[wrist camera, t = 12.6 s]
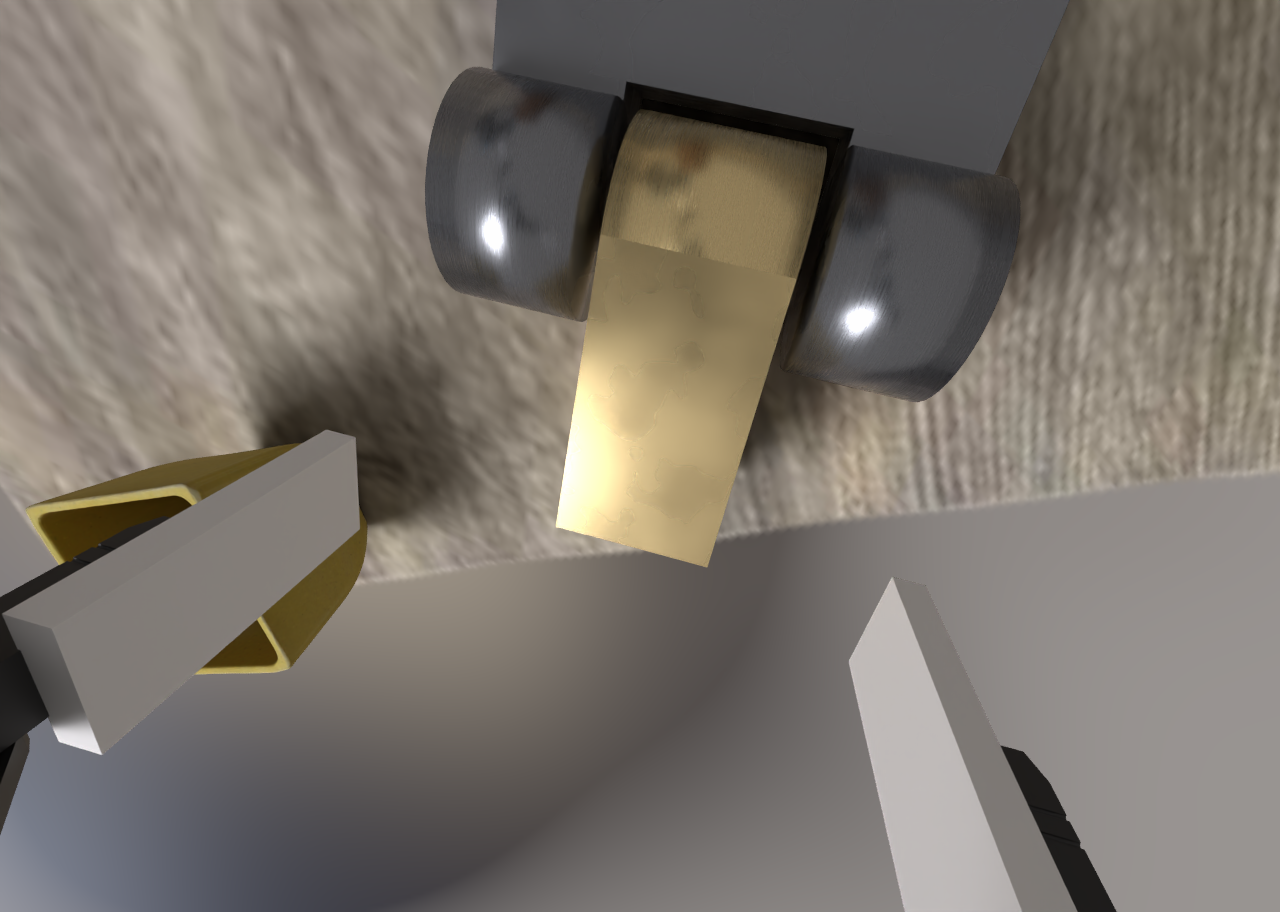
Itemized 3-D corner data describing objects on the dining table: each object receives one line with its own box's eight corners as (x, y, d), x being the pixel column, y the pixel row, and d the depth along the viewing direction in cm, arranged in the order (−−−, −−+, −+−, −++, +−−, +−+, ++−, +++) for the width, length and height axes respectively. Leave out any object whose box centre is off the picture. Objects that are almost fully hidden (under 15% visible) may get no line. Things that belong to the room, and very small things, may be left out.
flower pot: (213, 426, 30) (14, 508, 22) (348, 403, 28) (184, 485, 20) (285, 562, 33) (136, 678, 25) (412, 550, 31) (293, 673, 23)
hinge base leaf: (542, -107, 18) (435, -271, 12) (1038, -16, 17) (1210, -144, 11) (509, 280, 24) (422, 308, 17) (882, 370, 22) (934, 434, 16)
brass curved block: (661, 124, 20) (622, 89, 14) (811, 156, 20) (841, 134, 14) (601, 449, 26) (555, 526, 20) (717, 478, 26) (707, 567, 20)
